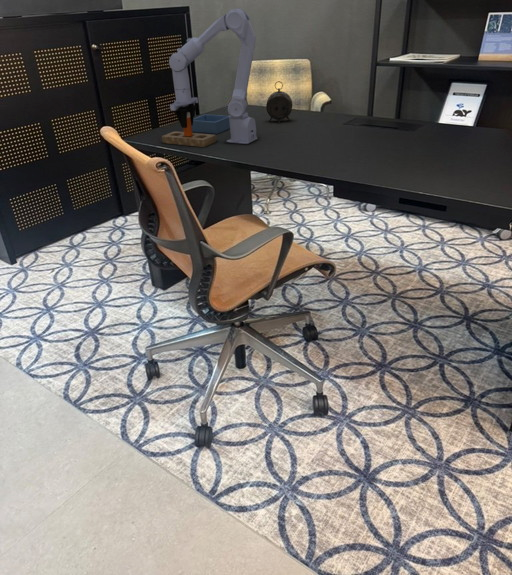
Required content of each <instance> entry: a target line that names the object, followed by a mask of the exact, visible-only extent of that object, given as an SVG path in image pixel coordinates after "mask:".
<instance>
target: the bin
mask: <svg viewBox="0 0 512 575" xmlns="http://www.w3.org/2000/svg"><path fill="white" fill-rule="evenodd" d="M191 127H192V133H200V134H211V135H218V134H220V133H222V132H225V131H227V130H230V122H229V115H221V114H207V113H204V114H201V115H199V116H197V117H194V118H193V125H192V126H191Z"/></svg>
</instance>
